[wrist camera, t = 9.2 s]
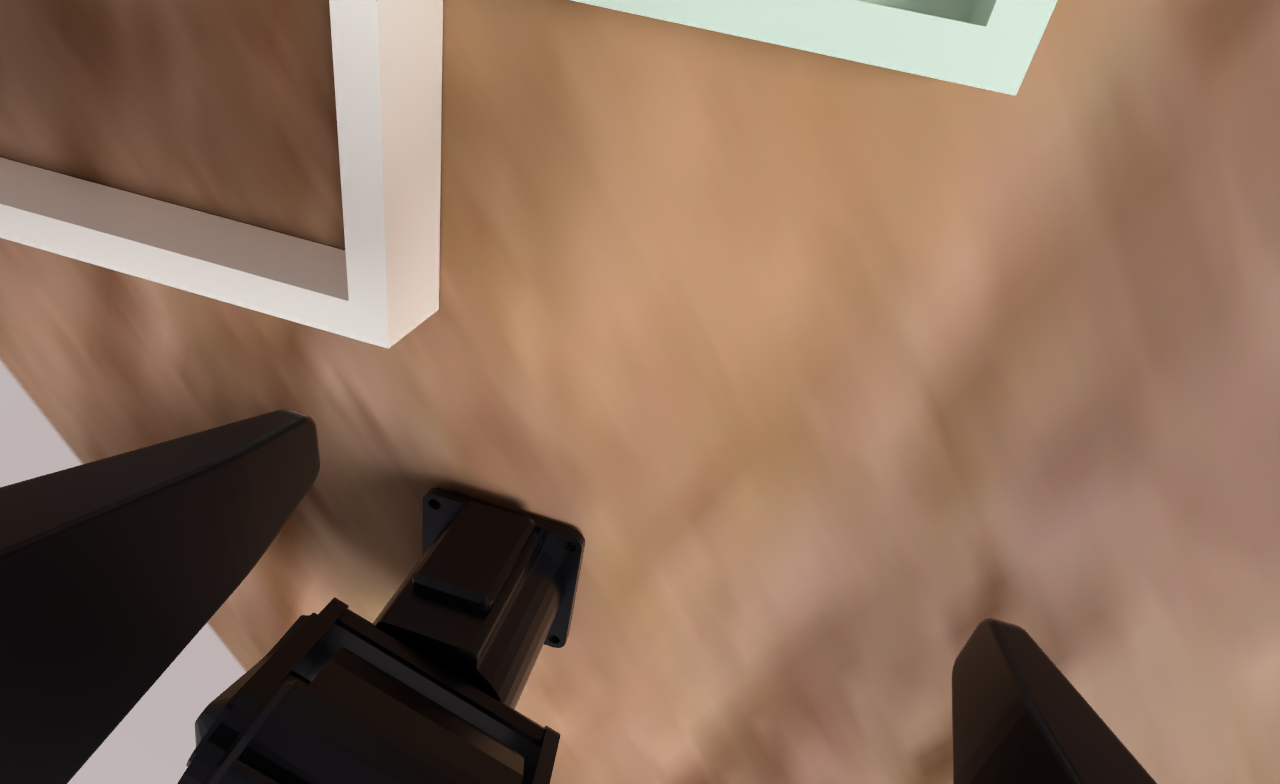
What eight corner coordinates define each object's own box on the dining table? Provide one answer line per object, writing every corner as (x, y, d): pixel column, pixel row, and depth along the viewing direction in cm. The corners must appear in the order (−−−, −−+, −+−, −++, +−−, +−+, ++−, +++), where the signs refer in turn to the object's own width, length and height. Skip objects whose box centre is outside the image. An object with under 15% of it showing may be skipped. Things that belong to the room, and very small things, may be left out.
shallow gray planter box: (438, 309, 22) (388, 348, 19) (-69, 169, 24) (-172, 188, 22) (445, -171, 15) (370, -206, 13) (-250, -302, 18) (-429, -353, 15)
